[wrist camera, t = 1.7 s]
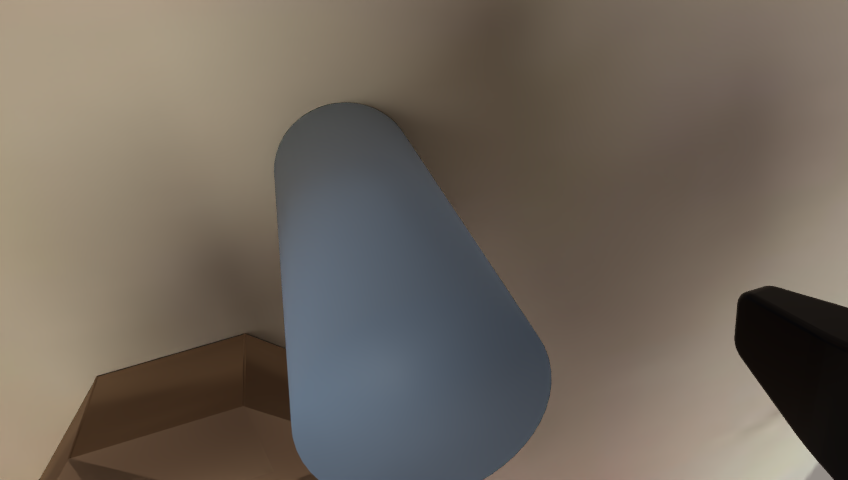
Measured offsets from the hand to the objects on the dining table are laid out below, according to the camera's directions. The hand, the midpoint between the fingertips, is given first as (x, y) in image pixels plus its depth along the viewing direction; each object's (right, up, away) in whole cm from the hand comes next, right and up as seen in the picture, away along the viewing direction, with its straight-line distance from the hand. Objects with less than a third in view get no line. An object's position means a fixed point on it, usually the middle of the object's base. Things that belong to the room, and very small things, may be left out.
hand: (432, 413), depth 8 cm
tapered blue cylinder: (-2, +4, +8) cm, 9 cm away
